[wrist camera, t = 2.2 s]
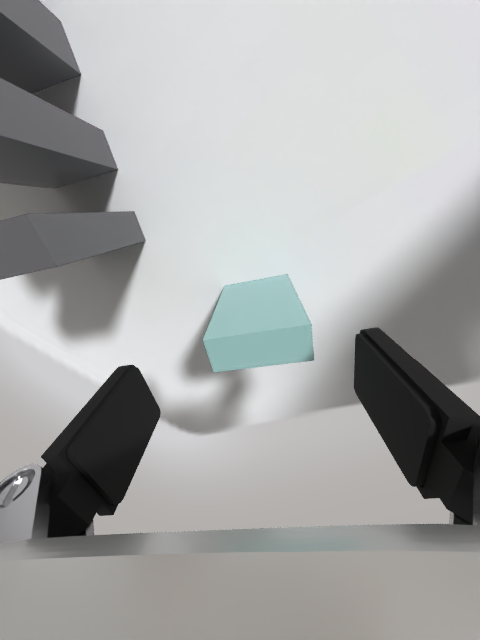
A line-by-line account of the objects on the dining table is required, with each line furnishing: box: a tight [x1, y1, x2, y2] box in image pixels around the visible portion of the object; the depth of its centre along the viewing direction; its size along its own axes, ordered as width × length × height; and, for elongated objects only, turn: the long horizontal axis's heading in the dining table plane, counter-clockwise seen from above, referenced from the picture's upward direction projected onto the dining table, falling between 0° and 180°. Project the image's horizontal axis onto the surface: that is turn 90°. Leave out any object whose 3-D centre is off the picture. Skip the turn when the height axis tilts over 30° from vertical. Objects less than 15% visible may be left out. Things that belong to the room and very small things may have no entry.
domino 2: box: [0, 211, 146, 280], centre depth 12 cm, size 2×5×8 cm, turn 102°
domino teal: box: [203, 274, 314, 372], centre depth 14 cm, size 2×5×8 cm, turn 102°
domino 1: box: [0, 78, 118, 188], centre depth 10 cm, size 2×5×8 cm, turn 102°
